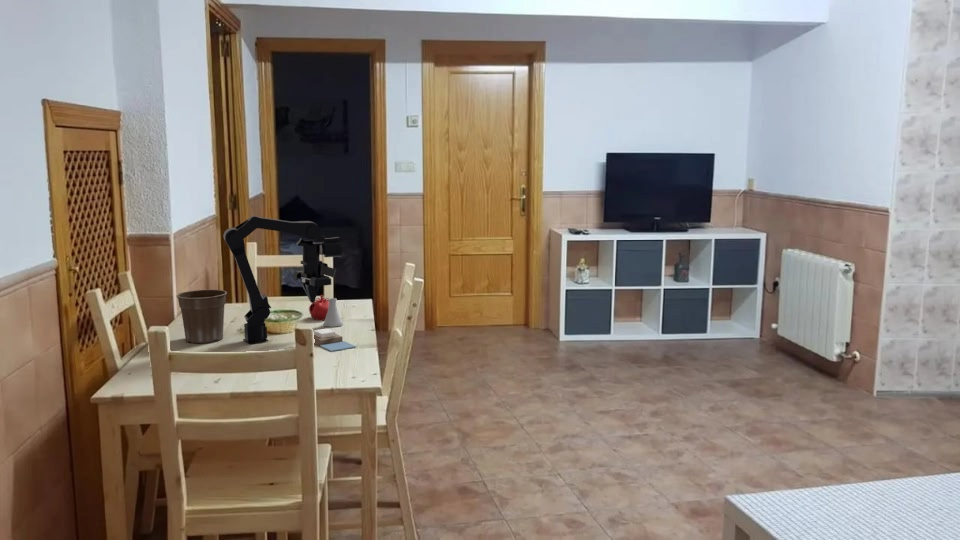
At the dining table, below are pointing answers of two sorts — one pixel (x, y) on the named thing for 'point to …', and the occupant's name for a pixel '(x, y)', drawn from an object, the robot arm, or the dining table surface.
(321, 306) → the pomegranate
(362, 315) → the dining table surface
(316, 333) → the white flat block
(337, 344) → the mat
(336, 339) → the deck
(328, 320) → the flask
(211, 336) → the plant pot
